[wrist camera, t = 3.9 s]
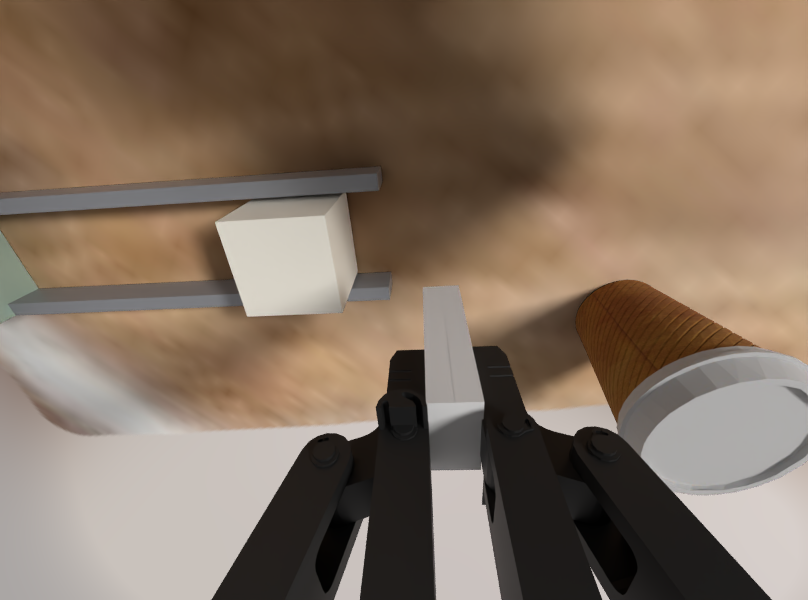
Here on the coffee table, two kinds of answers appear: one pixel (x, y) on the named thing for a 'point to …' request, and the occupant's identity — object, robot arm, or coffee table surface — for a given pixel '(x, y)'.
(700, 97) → the coffee table surface
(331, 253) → the block
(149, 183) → the chute
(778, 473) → the disposable coffee cup
